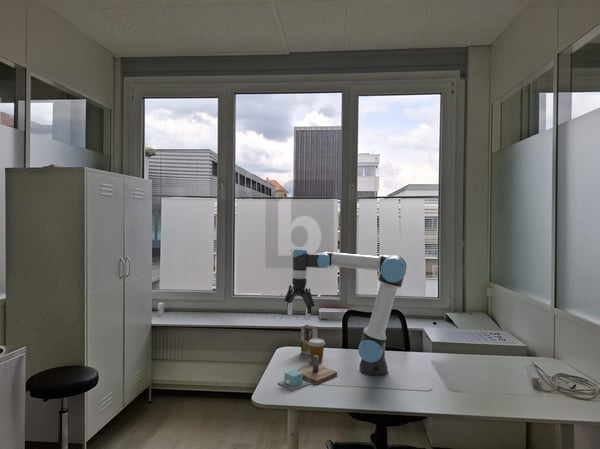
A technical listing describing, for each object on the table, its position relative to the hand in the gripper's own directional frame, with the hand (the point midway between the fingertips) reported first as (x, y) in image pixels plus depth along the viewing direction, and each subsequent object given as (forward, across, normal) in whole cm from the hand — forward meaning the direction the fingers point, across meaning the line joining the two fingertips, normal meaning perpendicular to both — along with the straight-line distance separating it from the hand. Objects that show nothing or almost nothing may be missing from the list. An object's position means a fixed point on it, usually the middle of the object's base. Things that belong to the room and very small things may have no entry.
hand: (298, 317), depth 211 cm
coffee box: (+29, +14, -24) cm, 40 cm away
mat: (+29, -11, +14) cm, 34 cm away
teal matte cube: (+28, -11, +14) cm, 33 cm away
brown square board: (+29, -11, -2) cm, 31 cm away
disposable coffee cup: (+29, +2, -17) cm, 34 cm away
